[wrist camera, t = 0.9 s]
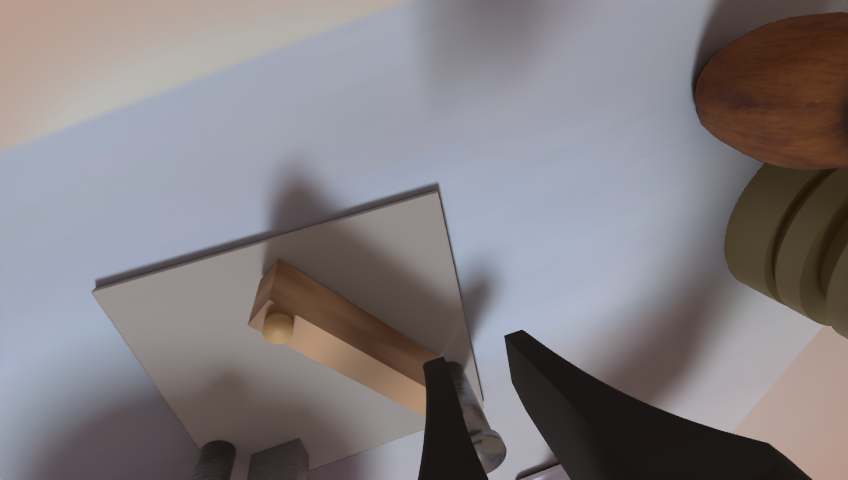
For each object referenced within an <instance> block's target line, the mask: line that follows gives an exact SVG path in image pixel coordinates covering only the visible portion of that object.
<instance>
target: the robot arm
mask: <svg viewBox="0 0 848 480" xmlns="http://www.w3.org/2000/svg"><path fill="white" fill-rule="evenodd" d="M504 337H505V343H506V349H507V355H508V361H509V367H510V373H511V380H512V383H513V385H514V387H515V389H516V392H517V394H518V396H519V398H520V400H521V402H522V404H523V406H524V408H525V409H526V411H527V413H528V414H529V416H530V418H531V419H532V421H533V422H534V424H535V425H536V427H537V429H538V430H539V432H540V433H541V435H542V436H543V438H544V439H545V441H546V442H547V444H548V446H549V447H550V449H551V450H552V452H553V453H554V455H555V456H556V458H557V459H558V461H559V462H560V464H559V465H556V466H554V467H551V468H549V469H546V470H543V471H541V472H538V473H535V474H533V475H530V476H527V477H525V478H522V479H520V480H812V479H811V478H810V477H809V476H807V475H806V474H805V473H804V472H803V471H802V470H801V469H799V468H798V467H797V466H796V465H795V464H794V463H793V462H791V461H790V460H789V459H788V458H787V457H786V456H784V455H783V454H782V453H780V452H779V451H778V450H776V449H775V448H774V447H772V446H771V445H770V444H769V443H765V442H762V441H758V440H754V439H750V438H747V437H743V436H739V435H735V434H732V433H728V432H724V431H721V430H718V429H714V428H711V427H708V426H705V425H702V424H699V423H696V422H693V421H690V420H687V419H684V418H682V417H679V416H676V415H674V414H671V413H669V412H666V411H664V410H661V409H658V408H656V407H653V406H651V405H648V404H646V403H644V402H642V401H639V400H637V399H635V398H633V397H631V396H629V395H627V394H624V393H622V392H620V391H618V390H616V389H615V388H613V387H611V386H609V385H607V384H605V383H603V382H601V381H600V380H598V379H596V378H594V377H593V376H591V375H589V374H587V373H586V372H584V371H582V370H581V369H579V368H578V367H576V366H574V365H573V364H571V363H570V362H568V361H567V360H565V359H563V358H562V357H560V356H559V355H557V354H556V353H554V352H553V351H552V350H550V349H549V348H547V347H546V346H544V345H543V344H542V343H540V342H539V341H537V340H536V339H535V338H533V337H532V336H531V335H529V334H528V333H526V332H525V331H523V330H520V331H517V332H514V333H511V334H508V335H505V336H504ZM422 367H423V370H424V375H425V383H426V422H425V433H424V444H423V452H422V459H421V465H420V471H419V477H418V480H488V477H487V475H486V473H485V470H484V468H483V466H482V464H481V461H480V459H479V457H478V454H477V452H476V450H475V447H474V445H473V442H472V440H471V438H470V435H469V432H468V430H467V427H466V424H465V420H464V417H463V413H462V410H461V406H460V402H459V399H458V395H457V392H456V388H455V385H454V381H453V378H452V374H451V371H450V369H449V367H448V365H447V363H446V361H445V359H444V357H443V356H442V357H439V358H436V359H433V360H430V361H427V362H425V363H424V365H423V366H422Z"/></svg>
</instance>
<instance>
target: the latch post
mask: <svg viewBox="0 0 848 480" xmlns="http://www.w3.org/2000/svg"><path fill="white" fill-rule="evenodd" d="M235 456H236V448H235V446H234V445H233V444H232V443H230V442H228V441H224V440H215V441H211V442H208V443H207V444H205V445H204V446H203V447H202V448H201V450H200V453H199V456H198V459H197V462H196V465H195V469H194V472H193V475H192V478H191V480H230V478H231V474H232V469H233V465H234V460H235ZM308 479H309V455H308V453H307V451H306V449H305V447H304V445H303V443H302V441H301V439H300V438H297V439H294V440H291V441H288V442H285V443H282V444H280V445H277V446H274V447H271V448H268V449H265V450H262V451H259V452H256V453H253V454H251V459H250V465H249V470H248V476H247V480H308Z"/></svg>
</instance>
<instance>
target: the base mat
mask: <svg viewBox="0 0 848 480" xmlns="http://www.w3.org/2000/svg"><path fill="white" fill-rule="evenodd" d="M278 258H279V259H281V260H282V261H284V262H286V263H287V264H289V265H290V266H292V267H294V268H295V269H297V270H299V271H300V272H302V273H304V274H305V275H307V276H308V277H310V278H312V279H313V280H315V281H317V282H318V283H320V284H321V285H323V286H325V287H326V288H328V289H330V290H331V291H333V292H334V293H336V294H338V295H339V296H341V297H343V298H344V299H346V300H347V301H349V302H351V303H352V304H354V305H356V306H357V307H359V308H360V309H362V310H364V311H365V312H367V313H369V314H370V315H372V316H373V317H375V318H377V319H378V320H380V321H382V322H383V323H385V324H387V325H388V326H390V327H391V328H393V329H395V330H396V331H398V332H400V333H401V334H403V335H404V336H406V337H408V338H409V339H411V340H413V341H414V342H416V343H417V344H419V345H421V346H422V347H424V348H426V349H427V350H429V351H430V352H432V353H434V354H435V355H437V356H439V357H442V356H443V357H444V359H445V361H446V362H449V361H454V362H458V363H459V364H461V365H462V367H463V369H464V371H465V373H466V376H467V378H468V380H469V382H470V384H471V387H472V389H473V391H474V393H475V395H476V397H477V400H478V402H479V404H480V406H481V408H482V409H484V405H483V400H482V395H481V391H480V386H479V381H478V377H477V372H476V367H475V363H474V358H473V353H472V349H471V344H470V339H469V335H468V330H467V325H466V321H465V316H464V311H463V307H462V302H461V297H460V293H459V288H458V283H457V279H456V274H455V269H454V265H453V260H452V255H451V251H450V246H449V241H448V237H447V232H446V227H445V223H444V218H443V213H442V209H441V204H440V199H439V195H438V192H437V191H436V190H435V191H431V192H428V193H424V194H421V195H417V196H414V197H410V198H407V199H403V200H400V201H396V202H393V203H389V204H386V205H383V206H379V207H376V208H372V209H369V210H365V211H362V212H358V213H355V214H351V215H348V216H344V217H341V218H337V219H334V220H330V221H327V222H323V223H320V224H317V225H313V226H310V227H306V228H303V229H299V230H296V231H292V232H289V233H285V234H282V235H278V236H275V237H271V238H268V239H264V240H261V241H258V242H254V243H251V244H247V245H244V246H240V247H237V248H233V249H230V250H226V251H223V252H219V253H216V254H212V255H209V256H205V257H202V258H198V259H195V260H192V261H188V262H185V263H181V264H178V265H174V266H171V267H167V268H164V269H160V270H157V271H153V272H150V273H146V274H143V275H139V276H136V277H132V278H129V279H126V280H122V281H119V282H115V283H112V284H108V285H105V286H101V287H98V288H95V289H94V290H93V291H92V292H91V293H92V295H93V296H94V297H95V299H96V300H97V302H98V303H99V305H100V306H101V308H102V309H103V311H104V312H105V313H106V315H107V316H108V318H109V319H110V321H111V322H112V324H113V325H114V326H115V328H116V329H117V331H118V332H119V334H120V335H121V337H122V338H123V340H124V341H125V342H126V344H127V345H128V347H129V348H130V350H131V351H132V353H133V354H134V355H135V357H136V358H137V360H138V361H139V363H140V364H141V366H142V367H143V369H144V370H145V371H146V373H147V374H148V376H149V377H150V379H151V380H152V382H153V383H154V384H155V386H156V387H157V389H158V390H159V392H160V393H161V395H162V396H163V398H164V399H165V400H166V402H167V403H168V405H169V406H170V408H171V409H172V411H173V412H174V413H175V415H176V416H177V418H178V419H179V421H180V422H181V424H182V425H183V427H184V428H185V429H186V431H187V432H188V434H189V435H190V437H191V438H192V440H193V441H194V442H195V444H196V445H197V447H198V448H199V450H201V448H202V447H203V446H204V445H205V444H207V443H208V442H211V441H215V440H224V441H228V442H230V443H232V444H233V445H234V446H235V448H236V456H235V460H234V465H233V469H232V474H231V478H230V480H247V476H248V470H249V465H250V459H251V454H253V453H256V452H259V451H262V450H265V449H268V448H271V447H274V446H277V445H280V444H282V443H285V442H288V441H291V440H294V439H297V438H300V439H301V441H302V443H303V445H304V447H305V449H306V451H307V453H308V455H309V470H312V469H314V468H317V467H320V466H323V465H326V464H329V463H331V462H334V461H337V460H340V459H343V458H345V457H348V456H351V455H354V454H357V453H360V452H362V451H365V450H368V449H371V448H374V447H377V446H379V445H382V444H385V443H388V442H391V441H393V440H396V439H399V438H402V437H405V436H408V435H410V434H413V433H416V432H419V431H422V430H424V429H425V422H426V417H424V416H422V415H420V414H418V413H416V412H414V411H412V410H410V409H408V408H406V407H404V406H403V405H401V404H399V403H397V402H395V401H393V400H391V399H389V398H387V397H385V396H383V395H381V394H379V393H377V392H375V391H373V390H372V389H370V388H368V387H366V386H364V385H362V384H360V383H358V382H356V381H354V380H352V379H350V378H348V377H346V376H344V375H343V374H341V373H339V372H337V371H335V370H333V369H331V368H329V367H327V366H325V365H323V364H321V363H319V362H317V361H315V360H313V359H312V358H310V357H308V356H306V355H304V354H302V353H300V352H298V351H296V350H294V349H292V348H290V347H288V346H286V345H284V344H272V343H269V342H267V341H266V340H265V339H264V337H263V335H262V333H261V332H259V331H257V330H255V329H253V328H252V327H250V326H248V322H249V318H250V315H251V311H252V308H253V304H254V301H255V297H256V293H257V290H258V286H259V283H260V280H261V278H262V277H263V276H264V275H265V273H266V272H267V271H268V270H269V269H270V267H271V266H272V265H273V264H274V263H275V261H276V260H277V259H278Z"/></svg>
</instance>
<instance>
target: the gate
mask: <svg viewBox="0 0 848 480" xmlns="http://www.w3.org/2000/svg"><path fill="white" fill-rule="evenodd" d="M248 326H250V327H252V328H253V329H255V330H257V331H259V332H261V333H262V335H263V337H264V339H265V340H266V341H267V342H269V343H272V344H284V345H286V346H288V347H290V348H292V349H294V350H296V351H298V352H300V353H302V354H304V355H306V356H308V357H310V358H312V359H313V360H315V361H317V362H319V363H321V364H323V365H325V366H327V367H329V368H331V369H333V370H335V371H337V372H339V373H341V374H343V375H344V376H346V377H348V378H350V379H352V380H354V381H356V382H358V383H360V384H362V385H364V386H366V387H368V388H370V389H372V390H373V391H375V392H377V393H379V394H381V395H383V396H385V397H387V398H389V399H391V400H393V401H395V402H397V403H399V404H401V405H403V406H404V407H406V408H408V409H410V410H412V411H414V412H416V413H418V414H420V415H422V416H424V417H426V383H425V375H424V370H423V367H422V366H423V365H424V363H425V362H427V361H430V360H433V359H436V358H439V356H437V355H435V354H434V353H432V352H430V351H429V350H427V349H426V348H424V347H422V346H421V345H419V344H417V343H416V342H414V341H413V340H411V339H409V338H408V337H406V336H404V335H403V334H401V333H400V332H398V331H396V330H395V329H393V328H391V327H390V326H388V325H387V324H385V323H383V322H382V321H380V320H378V319H377V318H375V317H373V316H372V315H370V314H369V313H367V312H365V311H364V310H362V309H360V308H359V307H357V306H356V305H354V304H352V303H351V302H349V301H347V300H346V299H344V298H343V297H341V296H339V295H338V294H336V293H334V292H333V291H331V290H330V289H328V288H326V287H325V286H323V285H321V284H320V283H318V282H317V281H315V280H313V279H312V278H310V277H308V276H307V275H305V274H304V273H302V272H300V271H299V270H297V269H295V268H294V267H292V266H290V265H289V264H287V263H286V262H284V261H282V260H281V259H279V258H278V259H277V260H276V261H275V263H274V264H273V265H272V266H271V267H270V269H269V270H268V271H267V272H266V273H265V275H264V276H263V277H262V278H261V280H260V283H259V286H258V290H257V293H256V297H255V301H254V304H253V308H252V311H251V315H250V318H249V322H248ZM460 406H461V405H460Z"/></svg>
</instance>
